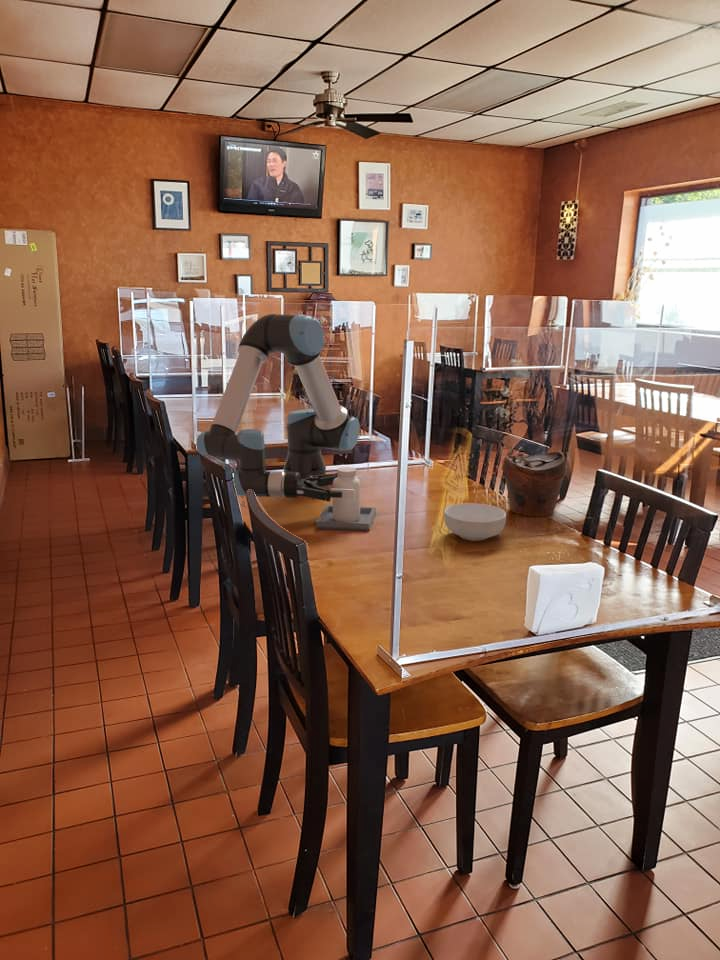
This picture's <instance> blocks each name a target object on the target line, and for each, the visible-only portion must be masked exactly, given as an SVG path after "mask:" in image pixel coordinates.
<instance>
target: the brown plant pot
mask: <svg viewBox="0 0 720 960" xmlns="http://www.w3.org/2000/svg"><path fill="white" fill-rule="evenodd" d="M566 465H567V464H566V456H565V454H564V453H563V452H560V451H551V452H547V453H546V452H545V453H539V454H534V455H527V456H520V455H506V456H505V457H504V459H503V462H502V466H501V469H502V471H501V472H503V474H504V479H505V483H506V491H507V498H508V503H509V510H510V512H512V513H514V514H516V515H521V516H525V517H544V516H545V517H546V516H549V515H553V513H554V512H555V509H556V505H557V501H558V498H559V494H560V490H561V488H562V484H563V481H564V476H565V474H566V471H567V467H566Z"/></svg>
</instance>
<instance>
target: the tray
mask: <svg viewBox="0 0 720 960" xmlns="http://www.w3.org/2000/svg"><path fill="white" fill-rule="evenodd" d="M376 515H377V507H375V506H370V507H369V506H360V519H359V520H358V521H355V522H344V521H335V520H334V519H333V505H328V504H327V505H325V507H324V508H323V510H322V512H321V513H320V514H319V516H318V518H317V519H316V522H315V524H316V526H315V527H316V529H318V530H319V529H320V530H344V531H347V530H348V531H363V532H364V531H366V532H367V531H368V532H370V530H371V527H372V525H373V522H374V520H375V518H376Z"/></svg>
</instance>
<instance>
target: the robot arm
mask: <svg viewBox="0 0 720 960" xmlns="http://www.w3.org/2000/svg"><path fill="white" fill-rule="evenodd" d="M324 337H325V332H324V328H323V326H322V324H321V322H320V321H319V320H318V319H317V318H316V317H314V316H311V315H305V314H276V313H269V314H266V315H263V316H261V317H260V318H258V319H257V320H256V321H254V322H253V323H252V324H251V325H250V327H249V328H248V329H247V330H246V331H245V333H244V335H242V338H241V340H240V341H239V344H238V347H237V352H238V356H237V359H236V361H235V364H234V367H233V369H232V371H231V373H230V377H229V379H228V382H227V384H226V386H225V389H224V392H223V394H222V396H221V400H220V402H219V405H218V407H217V411H216V412H215V416H214V418H213V420H212V423H211V425H210V429H209V430H207V431H206V430H205V431H201V433H200V434H199V435H198V436H197V438H196V444H195V446H196V449H197V452H198V453H199V454H200V455H201V456H203V454H205V455H206V454H207V455H211V456H213V457H214V458H213V459H221V460H227V461H232V462H233V461H234V462H238V466H239V467H238V468H239V469H237V470H234V471H233V473H234V483H235V488H236V491H237V496H244V497H247V496H246V491H247V490H248V489H252V490H254V492H255V494H256V496H255V497H269V498H275V499H276V500H278V498H287V499H298V498H299V497H303V498H304V497H305V498H309V499H313V500H318V501H322V502H331V499H332V500H333V499H355V497H354V489H335V488H333V487H332V488H330V489H328V488H327V487H328V486H333V481H334V479H335V478H337V477H338V476H337V475H338V474H337V472H336V473H335V472H334V473H327V466H326V464H325V461H324V457H323V454H322V449H329V450H335V451H336V450H337V451H339V452H340V451H345V452H346V451H348V452H349V451H351V450H352V449H354V447H355V446H356V445H357V443H358V440H359V436H360V431H361V429H360V428H361V427H360V421H359V419H358V418H357V417H354V416H350V415H349V413H348V410H347V409H346V407H344V406H343V405H340V403H339V400H338V398H337V395H336V393H335V390H334V388H333V385H332V383H331V380H330V378H329V376H328V373H327V371H326V370H327V369H326V367H325V365H324V362H323V360H322V358H321V356H320V355H321V354H322V352H323V351H322V350H323V348H324V344H325V338H324ZM273 353H274V354H275V353H276V354H283V355H284V358H285V359H286V362H287V364H288V365H290V366H292V367H294V368H295V371H296V372H297V375H298V376H299V379H300V381H301V384H302V387H303V388H304V391H305V393H306V395H307V397H308V400H309V402H310V404H311V407H312V408H305V409H303V408H302V409H299V410H294V411H290V412H289V413H288V415H287V419H286V429H287V431H286V432H287V456H286V459H285V462H284V466H283V471H282V470H281V471H280V470H279V471H274V470H273V471H271V470H270V471H269V470H266V443H265V434H264V432H263V431H262V430H260V429H257V428H249V429H247V428H246V429H241V430H239V431H238V428H239V425H240V422H241V420H242V417H243V414H244V412H245V410H246V408H247V405H248V402H249V400H250V396H251V394H252V391H253V389H254V386H255V383H256V381H257V378H258V376H259V374H260V370H261V367H262V366H263V364H264V363H266V362H267V361H268V358H269V356H270V355H271V354H273ZM237 431H238V432H237ZM355 477H356V478H358V479H359V480H360V487H362V485H363V484H362V480H363V479H362V478H363V477H362V476H361V475H356V476H355Z"/></svg>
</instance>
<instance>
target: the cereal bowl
mask: <svg viewBox="0 0 720 960" xmlns="http://www.w3.org/2000/svg"><path fill="white" fill-rule="evenodd" d="M443 513H444V515H443V521H444V524H445V526H446V527H447V529H448V530H449V531H450V532H452V533H453V534H455V535H456V536H459V538H461V539H464V540H467V541H471V542H472V541H473V542H477V541H478V542H480V541H484V540H487V539H488V538H492V537H495V536H497V535H498V534H500V533H501V532H502V531H503V530H504V528H505V525H506V522H507V513H506V511H505V510H503V508H500V507H497V506H494V505H491V504H490V505H489V504H484V503H476V502H473V503H472V502H469V503H468V502H466V503H465V502H464V503H456V504H451V505H449V506H446V508H444V512H443Z"/></svg>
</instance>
